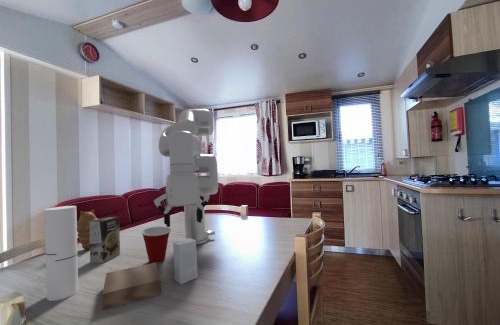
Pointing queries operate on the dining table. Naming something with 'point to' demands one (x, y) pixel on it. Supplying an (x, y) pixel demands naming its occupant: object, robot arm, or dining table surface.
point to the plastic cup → (156, 243)
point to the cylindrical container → (61, 252)
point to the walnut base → (131, 285)
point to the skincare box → (185, 260)
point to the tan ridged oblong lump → (85, 228)
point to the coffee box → (104, 239)
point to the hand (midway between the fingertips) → (184, 224)
